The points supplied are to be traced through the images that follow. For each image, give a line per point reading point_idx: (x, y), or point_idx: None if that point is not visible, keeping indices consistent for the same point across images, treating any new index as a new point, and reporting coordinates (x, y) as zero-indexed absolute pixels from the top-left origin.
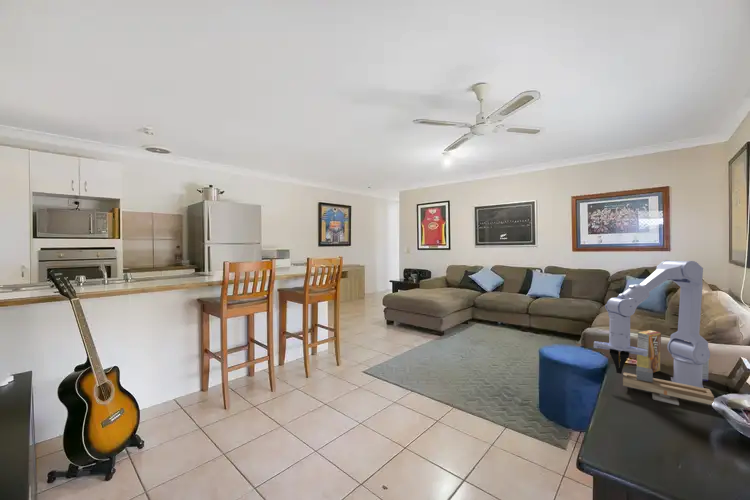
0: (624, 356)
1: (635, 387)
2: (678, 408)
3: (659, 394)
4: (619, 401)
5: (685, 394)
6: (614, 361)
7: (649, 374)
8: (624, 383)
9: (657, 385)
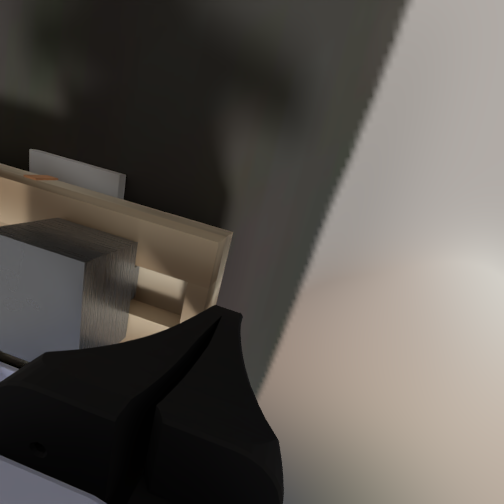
0: (76, 372)
1: (172, 216)
2: (45, 102)
3: None
4: (305, 28)
5: None
6: (238, 368)
7: (18, 233)
8: (221, 231)
9: (42, 189)
